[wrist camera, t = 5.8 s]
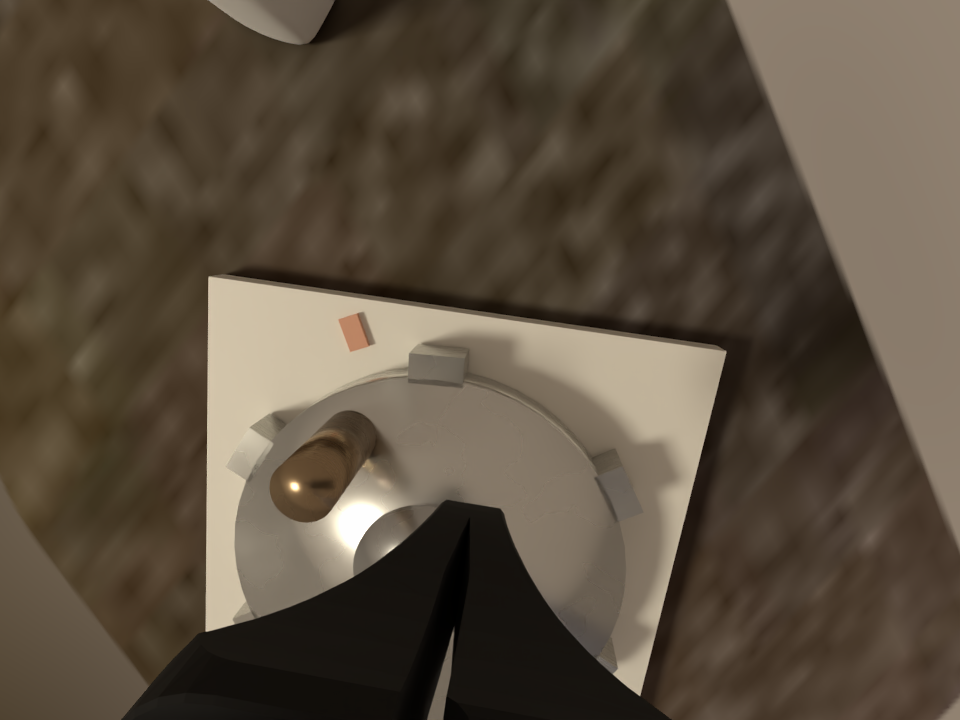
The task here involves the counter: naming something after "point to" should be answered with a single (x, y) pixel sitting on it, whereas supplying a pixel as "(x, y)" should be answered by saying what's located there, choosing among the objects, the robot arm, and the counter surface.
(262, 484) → the tabbed shallow bowl
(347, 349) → the cap plate
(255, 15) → the eye dropper bottle
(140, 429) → the counter surface
